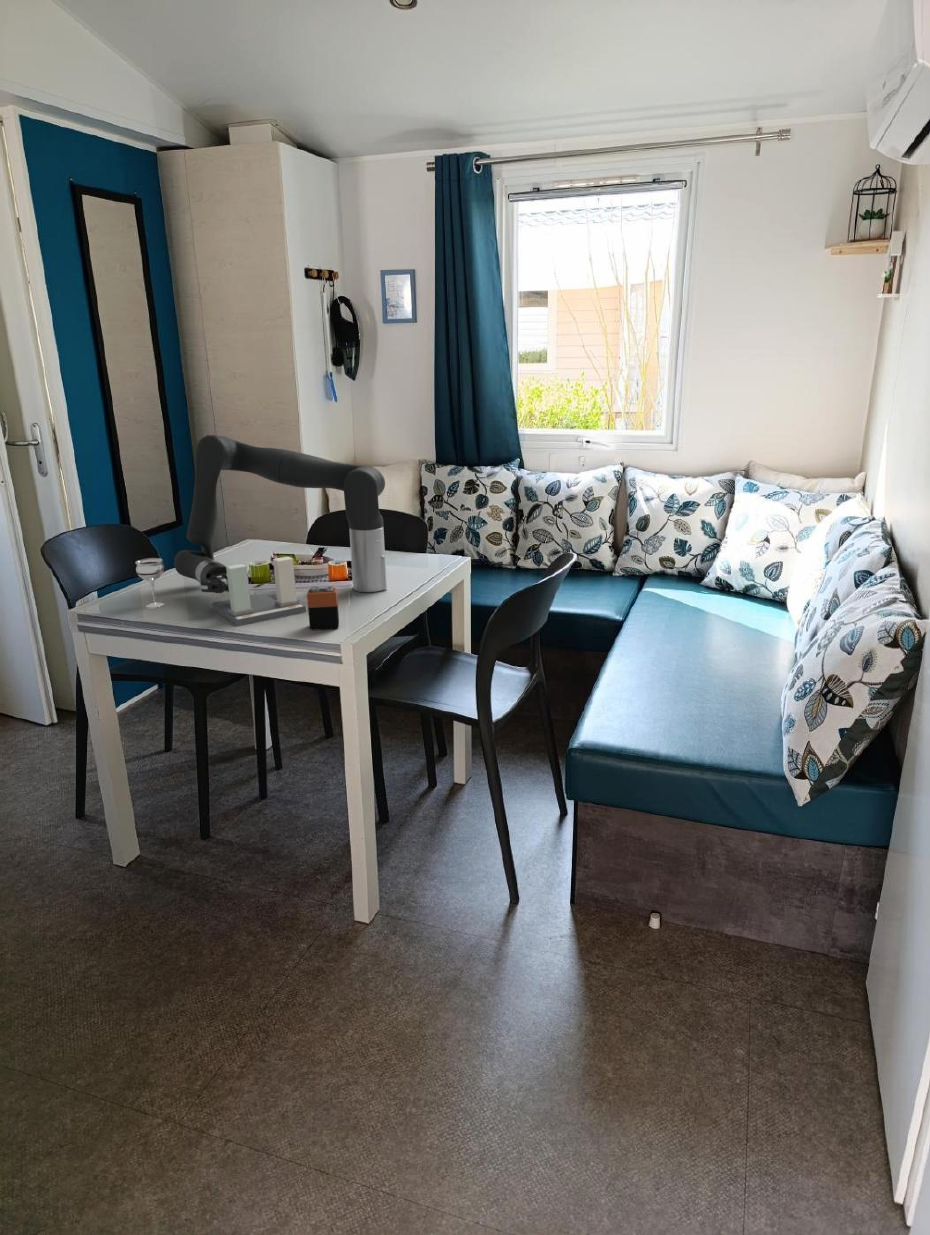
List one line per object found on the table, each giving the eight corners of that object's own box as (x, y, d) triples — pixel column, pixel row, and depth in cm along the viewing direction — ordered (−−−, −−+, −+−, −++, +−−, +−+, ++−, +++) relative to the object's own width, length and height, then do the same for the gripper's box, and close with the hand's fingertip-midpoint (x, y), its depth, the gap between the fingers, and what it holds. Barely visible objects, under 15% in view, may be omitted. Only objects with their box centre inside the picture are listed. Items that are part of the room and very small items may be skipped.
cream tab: (274, 603, 210) (270, 558, 206) (293, 600, 212) (289, 555, 209) (281, 607, 206) (276, 562, 203) (299, 603, 209) (295, 558, 205)
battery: (310, 624, 198) (307, 585, 195) (339, 623, 199) (336, 583, 196) (309, 630, 194) (306, 590, 191) (338, 629, 195) (335, 588, 191)
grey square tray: (212, 608, 212) (211, 602, 212) (277, 595, 222) (277, 590, 221) (237, 625, 198) (236, 619, 198) (305, 611, 208) (305, 605, 207)
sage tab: (228, 612, 203) (223, 566, 200) (248, 608, 206) (243, 563, 202) (234, 616, 200) (229, 569, 196) (254, 612, 203) (249, 566, 199)
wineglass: (174, 603, 217) (168, 559, 213) (153, 610, 211) (146, 565, 207) (157, 600, 220) (150, 556, 216) (135, 607, 214) (129, 562, 211)
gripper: (187, 566, 211) (209, 580, 198) (236, 558, 218) (261, 571, 205) (190, 594, 214) (212, 609, 200) (239, 585, 221) (264, 600, 207)
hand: (237, 590), depth 203 cm, fingers closed
